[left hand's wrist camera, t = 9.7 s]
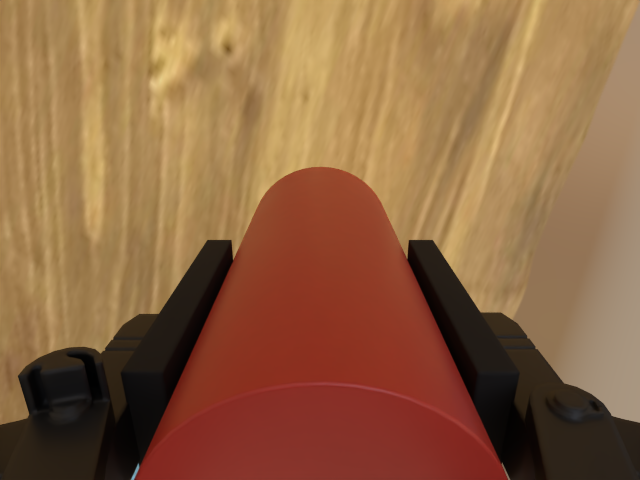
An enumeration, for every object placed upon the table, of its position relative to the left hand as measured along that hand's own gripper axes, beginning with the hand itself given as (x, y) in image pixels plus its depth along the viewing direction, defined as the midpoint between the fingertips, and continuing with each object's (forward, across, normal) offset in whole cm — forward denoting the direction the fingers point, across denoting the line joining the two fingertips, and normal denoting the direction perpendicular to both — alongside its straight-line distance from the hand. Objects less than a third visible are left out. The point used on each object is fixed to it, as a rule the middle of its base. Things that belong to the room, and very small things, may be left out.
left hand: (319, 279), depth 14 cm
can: (+4, 0, 0) cm, 4 cm away
